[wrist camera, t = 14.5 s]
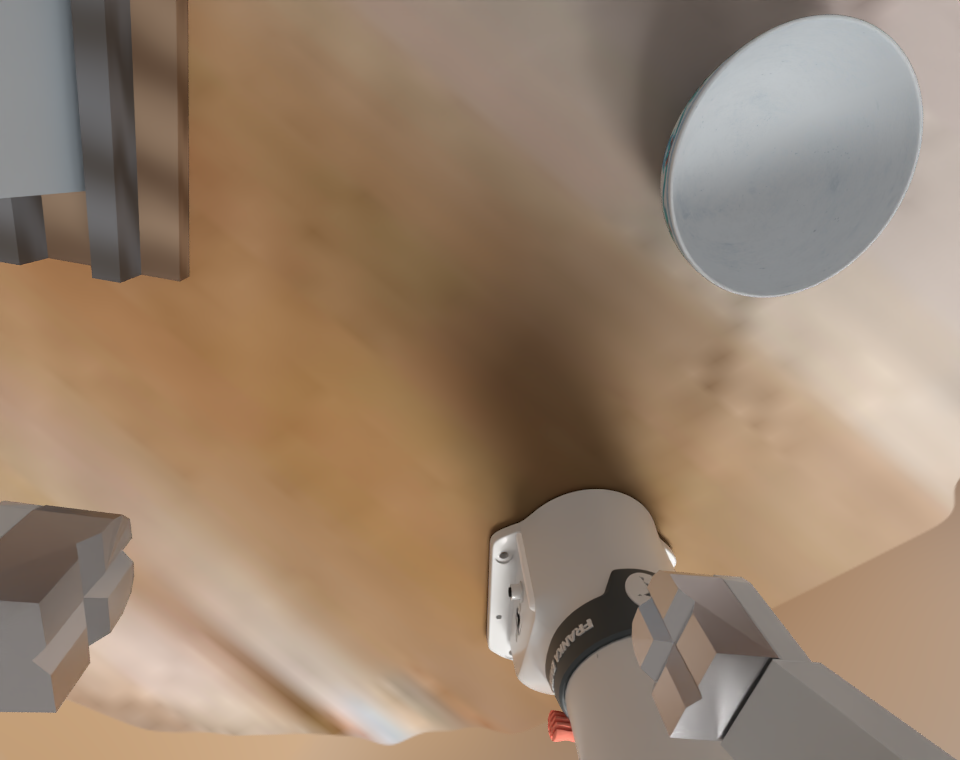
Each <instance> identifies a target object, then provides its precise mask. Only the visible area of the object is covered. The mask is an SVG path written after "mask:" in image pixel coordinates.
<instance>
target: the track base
mask: <svg viewBox="0 0 960 760" xmlns="http://www.w3.org/2000/svg"><path fill="white" fill-rule="evenodd" d="M70 1H71V14H72V27H73V40H74V52H75V65H76V78H77V90H78V103H79V116H80V128H81V141H82V154H83V166H84V179H85V191H81V192H69V193H58V194H46V195H34V196H23V197H11V198H0V262H5V263H10V264H16V265H22V264H26V263H30V262H34V261H38V260H42V259H46V258H51V259H57V260H63V261H68V262H74V263H79V264H85V265H91V268H92V278H96V279H102V280H108V281H113V282H119V283H121V282H124V281H126V280H129V279H131V278H134V277H136V276H139V275H147V276H152V277H158V278H164V279H169V280H175V281H181V280H183V279H186V278H188V277H189V134H188V0H70Z"/></svg>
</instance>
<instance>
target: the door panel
mask: <svg viewBox="0 0 960 760" xmlns="http://www.w3.org/2000/svg"><path fill="white" fill-rule="evenodd" d="M81 191H85V179H84V166H83V154H82V141H81V128H80V116H79V103H78V90H77V78H76V65H75V52H74V40H73V27H72V14H71V1H70V0H0V198H11V197H23V196H34V195H46V194H58V193H69V192H81Z"/></svg>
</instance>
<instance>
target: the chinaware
mask: <svg viewBox="0 0 960 760" xmlns="http://www.w3.org/2000/svg"><path fill="white" fill-rule="evenodd" d="M922 133H923V106H922V98H921V92H920V88H919V84H918V81H917V78H916V75H915V72H914V70H913V68H912V65H911V63H910V62H909V60H908V58H907V56H906V55H905V53H904V52H903V51H902V49H901V48H900V47H899V45H898V44H897V43H896V42H895V41H894V40H893V39H892V38H891V37H890V36H889V35H887V34H886V33H885V32H884V31H882V30H881V29H879V28H878V27H876V26H874V25H872V24H870V23H868V22H866V21H863V20H860V19H857V18H854V17H850V16H844V15H833V14H825V15H814V16H808V17H803V18H799V19H795V20H792V21H789V22H786V23H784V24H781V25H779V26H776V27H774V28H772V29H770V30H768V31H766V32H764V33H763V34H761V35H759V36H758V37H756V38H754V39H753V40H751V41H750V42H748V43H747V44H745V45H744V46H743V47H741V48H740V49H739V50H737V51H736V52H735V53H734V54H732V55H731V56H730V57H729V58H728V59H726V60H725V61H724V62H723V63H722V64H721V65H720V66H719V67H718V68H717V69H716V70H715V71H714V72H713V73H712V74H711V75H710V76H709V77H708V78H707V79H706V80H705V81H704V82H703V84H702V85H701V86H700V87H699V88H698V90H697V91H696V92H695V94H694V95H693V96H692V98H691V99H690V101H689V102H688V103H687V105H686V107H685V108H684V110H683V111H682V113H681V115H680V117H679V119H678V121H677V123H676V125H675V127H674V129H673V131H672V134H671V136H670V139H669V141H668V144H667V148H666V151H665V155H664V159H663V164H662V171H661V183H660V191H661V203H662V209H663V214H664V218H665V221H666V224H667V227H668V230H669V232H670V234H671V237H672V239H673V241H674V242H675V244H676V246H677V247H678V249H679V251H680V252H681V253H682V255H683V256H684V257H685V259H686V260H687V261H688V262H689V263H690V264H691V266H692V267H693V268H694V269H695V270H696V271H697V272H699V273H700V274H701V275H702V276H703V277H704V278H706V279H707V280H709V281H710V282H711V283H713V284H715V285H716V286H718V287H720V288H722V289H724V290H727V291H729V292H732V293H735V294H739V295H743V296H749V297H761V298H764V297H778V296H784V295H789V294H793V293H797V292H800V291H803V290H806V289H809V288H811V287H813V286H816V285H818V284H820V283H822V282H824V281H826V280H827V279H829V278H831V277H833V276H834V275H836V274H837V273H839V272H840V271H842V270H843V269H845V268H846V267H847V266H848V265H850V264H851V263H852V262H853V261H855V260H856V259H857V258H858V257H859V256H860V255H861V254H862V253H863V252H865V251H866V249H867V248H868V247H869V246H870V245H871V244H872V243H873V242H874V241H875V240H876V239H877V237H878V236H879V235H880V234H881V233H882V231H883V230H884V229H885V227H886V226H887V225H888V223H889V222H890V220H891V219H892V217H893V216H894V214H895V212H896V211H897V209H898V207H899V206H900V204H901V202H902V200H903V198H904V196H905V194H906V192H907V190H908V187H909V185H910V182H911V180H912V177H913V174H914V171H915V168H916V165H917V161H918V157H919V153H920V148H921V142H922Z"/></svg>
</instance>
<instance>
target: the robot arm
mask: <svg viewBox="0 0 960 760" xmlns="http://www.w3.org/2000/svg"><path fill="white" fill-rule="evenodd" d="M131 539H132V533H131V524H130V519H129V518H127V517H126V516H124V515H120V514H112V513H104V512H96V511H88V510H80V509H72V508H64V507H56V506H48V505H45V506H41V505H34V504H26V503H18V502H10V501H2V502H0V712H53V713H54V712H55V713H56V712H57V711H58V709H59V708H60V706H61V705H62V703H63V702H64V700H65V699H66V697H67V696H68V694H69V693H70V692H71V690H72V689H73V687H74V686H75V684H76V683H77V681H78V680H79V678H80V677H81V675H82V674H83V672H84V671H85V670H86V668H87V667H88V665H89V664H90V655H89V645H91V644H93V643H94V642H96V641H98V640H99V639H101V638H102V637H104V636H106V635H107V634H109V633H111V631H112V629H113V628H114V626H115V625H116V623H117V622H118V620H119V619H120V617H121V616H122V614H123V612H124V609H125V607H126V604H127V602H128V599H129V597H130V594H131V591H132V585H133V579H134V562H133V561H132V560H131V559H130V558H129V557H128V556H127V555H126V554H125V553H124V552H123V551H122V550H123V549H124V548H125V546H126V545H127V544H128V543H129V541H130V540H131ZM502 552H506V553H502ZM675 565H676V558H675V556H674V554H673V552H672V550H671V548H670V547H669V546H668V545H667V544H666V543H665V542H663V541H662V540H661V539H660V538H659V535H658V533H657V530H656V527H655V524H654V521H653V519H652V517H651V515H650V513H649V512H648V511H647V509H646V508H645V507H644V506H643V505H642V504H641V503H639V502H638V501H637V500H635V499H633V498H632V497H630V496H628V495H625V494H623V493H620V492H616V491H611V490H604V489H589V490H581V491H576V492H572V493H568V494H565V495H562V496H560V497H557V498H555V499H553V500H551V501H549V502H547V503H546V504H544V505H543V506H541V507H540V508H538V509H537V510H536V511H535V512H533V513H532V514H531V515H530V516H528V517H527V518H526V519H524V520H523V521H521V522H520V523H517V524H514V525H511V526H508V527H506V528H503V529H501V530H499V531H497V532H496V533H494V534H493V535H492V537H491V539H490V557H489V585H488V613H487V642H488V646H489V649H490V650H491V651H493V652H494V653H496V654H498V655H500V656H502V657H504V658H507V659H510V660H513V663H514V668H515V672H516V675H517V677H518V679H519V680H520V681H521V682H522V683H523V684H524V685H526V686H527V687H529V688H531V689H533V690H536V691H539V692H542V693H546V694H551V695H555V697H556V699H557V701H558V703H559V705H560V707H561V709H562V710H563V712H560V711H555V710H552V711H550V713H549V717H548V729H549V735H550V738H551V739H552V741H554V742H556V741H563V740H569V741H571V742H575V744H576V748H577V751H578V756H579V760H956V759H955V758H953V757H952V756H951V755H949V754H948V753H946V752H945V751H944V750H942V749H941V748H939V747H938V746H937V745H935V744H934V743H932V742H931V741H930V740H928V739H926V738H925V737H924V736H923V735H921V734H920V733H918V732H917V731H915V730H914V729H913V728H911V727H910V726H908V725H907V724H906V723H904V722H903V721H901V720H900V719H899V718H897V717H896V716H894V715H893V714H892V713H890V712H889V711H887V710H886V709H885V708H883V707H882V706H880V705H879V704H878V703H876V702H875V701H873V700H872V699H870V698H869V697H867V696H866V695H865V694H863V693H862V692H861V691H859V690H858V689H856V688H855V687H854V686H852V685H851V684H849V683H848V682H847V681H845V680H844V679H842V678H841V677H840V676H838V675H837V674H835V673H834V672H833V671H831V670H830V669H828V668H827V667H825V666H824V665H823V664H821V663H817V662H811V660H810V659H809V658H808V657H807V655H806V654H805V653H804V651H803V650H802V649H801V647H800V646H799V645H798V644H797V642H796V641H795V640H794V639H793V637H792V636H791V635H790V633H789V632H788V631H787V629H786V628H785V627H784V625H783V624H782V623H781V622H780V620H779V619H778V618H777V616H776V615H775V614H774V613H773V611H772V610H771V609H770V607H769V606H768V605H767V603H766V602H765V601H764V600H763V598H762V597H761V596H760V594H759V593H758V592H757V591H756V589H755V588H754V587H753V585H752V584H751V583H750V582H748V581H747V580H745V579H744V578H742V577H734V576H722V575H713V576H712V575H705V574H695V573H684V572H676V571H675V569H674V567H675Z"/></svg>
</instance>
